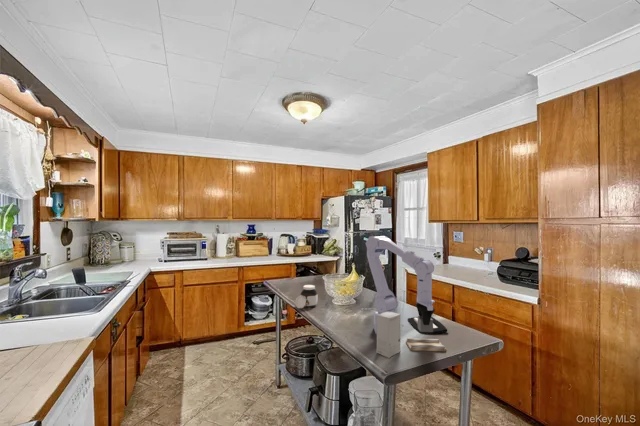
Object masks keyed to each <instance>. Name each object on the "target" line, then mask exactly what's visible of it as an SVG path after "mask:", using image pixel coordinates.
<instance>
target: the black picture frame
mask: <svg viewBox="0 0 640 426" xmlns="http://www.w3.org/2000/svg"><path fill="white" fill-rule="evenodd" d="M431 318H432V319H433V332H420V331H419V329H418V316H413V317H408V318H407V322H408V323H409V324H410V326H411V327H412V328H413V329H415V331H417V332H418V333H419V334H421V335H435V334H441V333H448V328H446V326H445V325H444V324H443V323H441V322H440V321H439V320H438V319H436V318H434V317H433V316H431Z"/></svg>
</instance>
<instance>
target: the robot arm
mask: <svg viewBox="0 0 640 426" xmlns="http://www.w3.org/2000/svg"><path fill="white" fill-rule="evenodd" d="M365 246H366V257H367V261H368V265H369V269H370V272H371V275H372V279H373V281H374V282H373V283H374V286H375V289H376V294H375V296H374V300H375V304H374V305H375V309H376V310H377V311H374V312H373V330H374V333H375V335H377V315H378V314H381V313H384V312H388V311H390V312H394V313H396V309H397V308H398V304H399V303H398V299H397V298H396V297H395V294H394V292H393V291H391V289H389V286H388V282H387V280H386V276H385V273H384V268H383V266H382V262H381V259H380V256H381V255H382V252H384V251H385V250H388V251H390V252H391V253H393V254H394V255H397V256H398V257H400V258H401V261H402V262H403V263H404V264H406V265H407V266H409V267H410V268H412V269H413V270H414V272H415V273H416V280H417V281H416V284H417V286H416V302H415V303H414V306H416V309H417V312H418V316H422V319H423V324H424V325H429V324H430V320H431V317H433V313H434V312H435V308H434V304H435V300H434V299H433V294H432V293H433V292H432V291H433V280H432V278H433V277H432V276H433V274H432V273H433V272H434V270H435V265H434V263H433V262H432V261H431V260H429V259H425V258H424V257H422V256H419V255H417V254H416V253H415V251H414V250H406V249H404V248H402V247H401V246H399V245H398V244H396V243H395V242H394V241H393V240H391V239H390V238H389V237H387V236H385V235H380V236H379V235H377V236H374V235H371V236H369V237H368V238H367V240H366V242H365Z"/></svg>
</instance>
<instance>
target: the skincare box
mask: <svg viewBox="0 0 640 426" xmlns="http://www.w3.org/2000/svg"><path fill="white" fill-rule="evenodd" d="M400 352H401V313H397V312H395V313H394V312H390V311H388V312H384V313H381V314H378V315H377V334H376V353H377V354H379V355H381V356H383V357H385V358H388V359H389V358H391V357H392V356H395V355H396V354H399V353H400Z"/></svg>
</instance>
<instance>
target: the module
mask: <svg viewBox="0 0 640 426" xmlns="http://www.w3.org/2000/svg"><path fill="white" fill-rule="evenodd" d="M417 317H418V329H419V331H420V332H433V319H432V318H431V320H430V324H429V325H424V324H423V319H422V316H419V315H418V316H417Z"/></svg>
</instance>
